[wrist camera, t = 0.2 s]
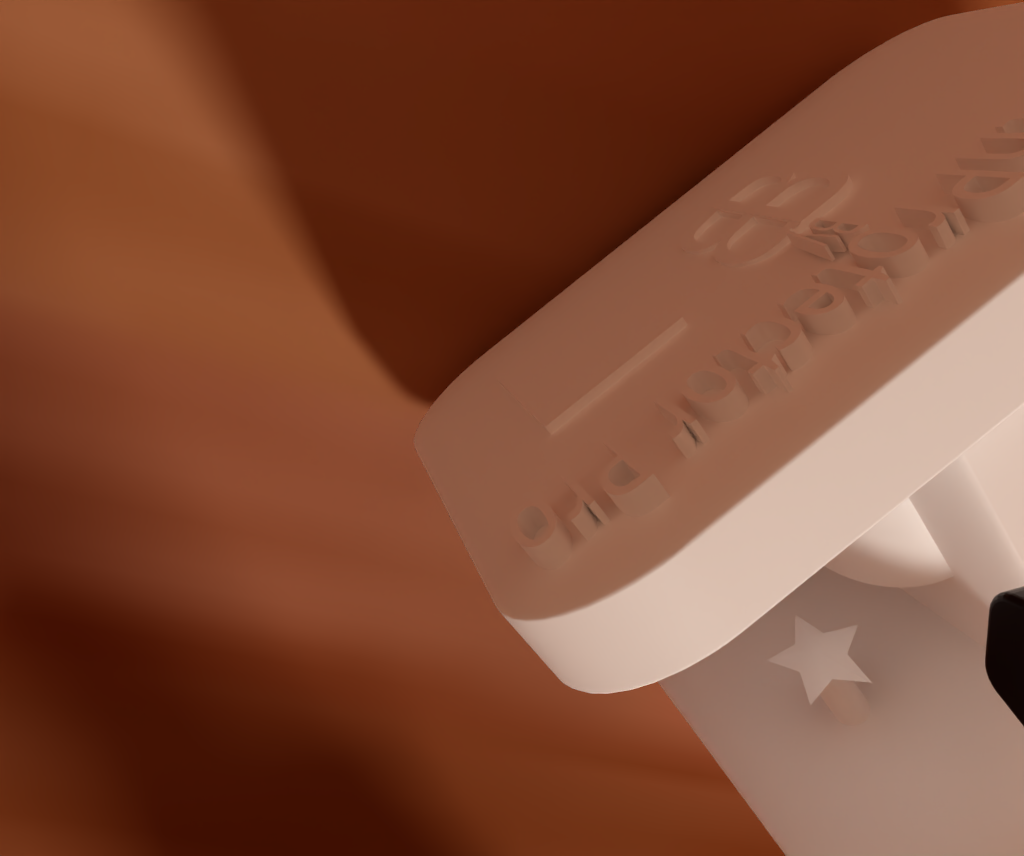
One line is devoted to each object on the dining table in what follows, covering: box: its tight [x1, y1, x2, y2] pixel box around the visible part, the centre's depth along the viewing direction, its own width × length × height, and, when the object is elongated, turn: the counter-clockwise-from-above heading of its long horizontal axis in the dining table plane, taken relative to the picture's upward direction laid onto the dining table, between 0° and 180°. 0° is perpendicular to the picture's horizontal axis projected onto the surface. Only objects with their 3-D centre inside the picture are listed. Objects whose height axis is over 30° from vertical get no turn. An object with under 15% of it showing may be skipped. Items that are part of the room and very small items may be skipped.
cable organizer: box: [414, 2, 1024, 856], centre depth 19 cm, size 15×11×12 cm
